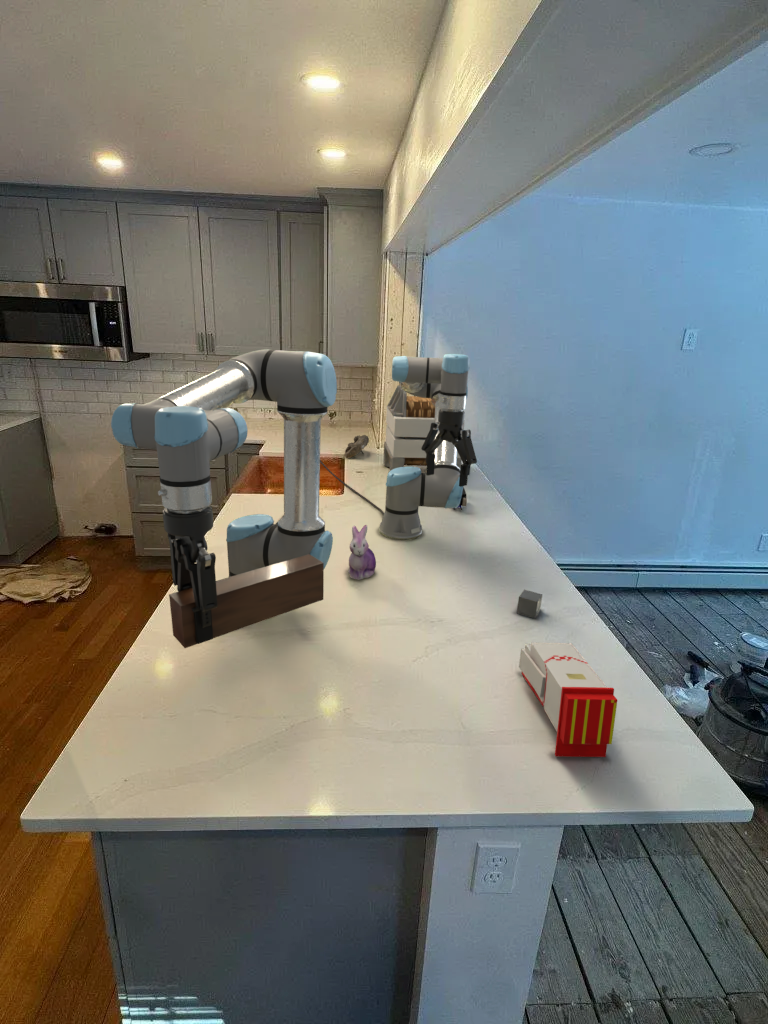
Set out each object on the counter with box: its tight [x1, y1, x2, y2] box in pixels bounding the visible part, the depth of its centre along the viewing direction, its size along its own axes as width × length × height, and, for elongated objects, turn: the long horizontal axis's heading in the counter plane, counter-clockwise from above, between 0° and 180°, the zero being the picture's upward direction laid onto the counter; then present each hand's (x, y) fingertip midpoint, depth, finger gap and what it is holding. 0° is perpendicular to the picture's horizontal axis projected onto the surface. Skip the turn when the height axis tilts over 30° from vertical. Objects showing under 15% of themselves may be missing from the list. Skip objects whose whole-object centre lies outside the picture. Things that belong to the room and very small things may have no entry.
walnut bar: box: [168, 554, 325, 649], centre depth 103 cm, size 5×28×8 cm, turn 131°
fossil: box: [344, 434, 370, 459], centre depth 303 cm, size 22×10×15 cm
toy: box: [518, 642, 618, 758], centre depth 113 cm, size 12×13×30 cm
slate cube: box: [516, 588, 543, 619], centre depth 151 cm, size 5×5×5 cm
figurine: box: [347, 524, 377, 580], centre depth 166 cm, size 9×10×15 cm
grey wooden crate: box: [383, 384, 465, 472], centre depth 268 cm, size 34×33×41 cm
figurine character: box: [452, 486, 468, 511], centre depth 230 cm, size 7×8×15 cm
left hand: (197, 632), depth 98 cm, fingers closed on walnut bar, 5 cm apart
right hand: (446, 480), depth 171 cm, fingers open, 13 cm apart
